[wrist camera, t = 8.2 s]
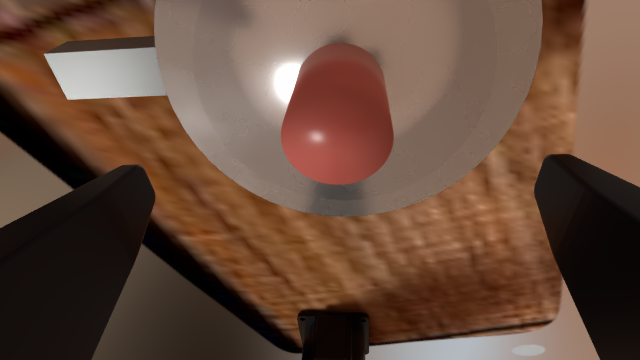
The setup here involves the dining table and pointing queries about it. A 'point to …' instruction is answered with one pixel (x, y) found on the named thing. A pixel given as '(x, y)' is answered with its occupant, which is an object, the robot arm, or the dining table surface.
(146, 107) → the dining table surface
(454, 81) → the lid
